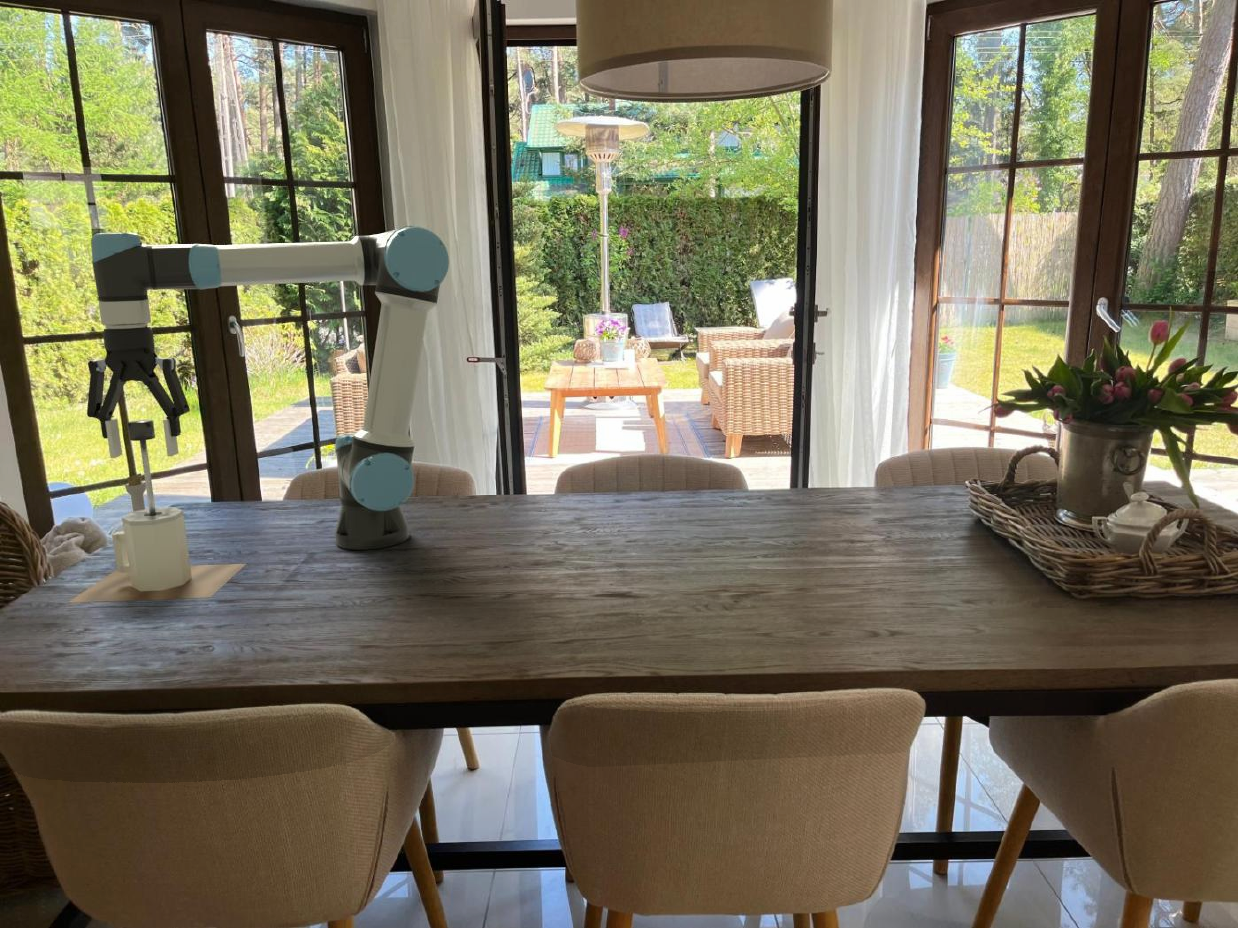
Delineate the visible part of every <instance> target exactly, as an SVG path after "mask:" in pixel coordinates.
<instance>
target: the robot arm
mask: <svg viewBox="0 0 1238 928" xmlns="http://www.w3.org/2000/svg"><path fill="white" fill-rule="evenodd" d="M90 246H91V247H90V248H91V259H92V260H91V263H92V268H93V269H92V270H93V275H94V281H95V288H96V294H97V299H98V309H99V314H100V316H99V317H100V324H101V325H102V326H105V328H103V330H102V336H103V343H104V349H105V351H106V355H105V358H104V359H103V358H102V359H98V358H97V359H92V360H89V361H88V362H87V367H88V370H89V375H90V377H89V384H88V385H89V386H88V387H89V388H88V398H87V408H86V409H87V410H86V415H87V417H89V418H94V419H98V421H99V422H100V429H101V434H102V435H101V437H102V439H105V440H106V439H107V443H108V444H107V445H108V449H109V450H108V451H109V457H110V458H111V459H117V458H119V457H121V456H123V449H122V441H121V436H120V427H119V422H118V421H119V420H118V418H114V417H115V416H114V412H115V410H116V407H117V404H118V402H119V399H120V397H121V394H122V391H123V389H124V386H125V385H126V384H127V382H130V381H134V382H142V383H143V385H145V386H146V387H147V389H148V390H149V392H150V393H151V395H152V396H153V398H154V399H155V401H156V402H157V403H158V405H159V406H160V409H161V410H162V411H163V412H164V414H165V416H166V417H165V418H164V419H162V423H163V432H164V438H165V445H166V446H165V447H166V454H167V457H173V456H176V455H178V454H179V448H178V447H179V446H178V445H179V444H178V438H177V437H178V436H180V435H181V433H182V429H181V422H180V417H181V416H182V415H185V414H187V413H189V412H190V411H191V409H190V406H189V403H188V400H187V398H186V394H185V392H184V390H183V387H182V385H181V382H180V379H179V376H178V373H177V370H176V369H177V368H176V366H177V363H176V359H175V358H174V357H173V356H171V357H168V358H167V357H158V355H157V354H156V351H155V341H154V332H153V331H154V330H153V328H152V327H151V326H149V324H151V322H152V318H151V312H150V311H151V309H150V305H149V297H148V291H151V290H152V291H158V290H207V289H217V288H219V287H232V286H233V287H234V286H253V285H254V286H256V285H257V286H258V285H279V284H280V285H281V284H282V285H283V284H300V283H301V284H302V283H303V284H304V283H305V284H306V283H327V282H328V283H329V282H331V283H333V282H352V281H354V282H355V283H357V284H358V285H359V286H375V291H374V294H375V296H376V297H377V299H378V300H379V302H380V304H381V307H380V313H379V318H378V319H379V320H378V326H377V333H376V337H375V338H376V340H375V346H374V347H375V348H374V353H373V359H372V364H371V365H372V366H371V372H370V379H369V385H368V392H367V399H366V406H365V413H364V419H363V426H362V428H361V429H359V430H358V431H356V432H355V433H350V434H349V433H348V434H341V435H338V436H337V437H336V439H335V448H334V452H335V454H336V463H337V464H336V465H337V475H338V487H339V497H340V499H339V500H340V510H339V514H338V519H337V523H336V527H335V531H334V541H335V545H336V546H338V547H339V548H343V549H345V550H356V551H357V550H361V551H365V550H377V549H382V548H388V547H392V546H396V545H399V544H401V543H403V542H405V541H407V540H408V539H410V532H409V531H410V530H409V527H410V526H409V524H408V522H407V519H406V517H405V515H404V513H403V510H402V508H401V505H402V504H404V503H405V502H406V501H407V500H408V499H409V498H410V496H411V494H412V492H413V489H414V485H415V474H414V470H413V468H412V463H413V457H414V449H415V442H414V440H412V438H411V437H410V435H409V431H410V430H409V429H410V425H411V419H412V412H413V405H414V398H415V391H416V386H417V379H418V373H419V368H420V363H421V362H420V361H421V355H422V348H423V342H424V336H425V329H426V323H427V317H428V313H429V312H430V311H431V309H433V308H435V307H436V306H437V305H438V300H439V299H438V298H439V292H440V286H441V284H442V283H443V282H444V280H445V278H446V277H447V274H448V271H449V266H450V259H449V257H450V256H449V252H448V249H447V247H446V245H445V243H444V242H443V241H442V239H441V238H440V237H439V236H438V235H437V234H435V232H433V231H431V230H429V229H427V228H424V227H421V226H414V225H405V226H402V227H400V228H397V229H392V230H389V231H386V232H385V231H384V232H382V233H378V234H372V235H355V236H354V237H353V238H352V239H351V240H349V241H326V242H325V241H324V242H323V241H322V242H294V243H293V242H289V243H288V242H287V243H285V242H284V243H259V244H257V243H256V244H227V245H225V244H224V245H222V244H221V245H220V244H219V245H217V244H216V245H213V244H201V243H193V244H192V243H191V244H189V243H188V244H155V245H153V244H143V242H142V240H141V236H140V234H138V233H135V232H134V233H133V232H100V233H95V234H94V235H93V236H92V237H91V238H90ZM157 366H158V367H159V369H160V370H161V371H162V374H163V378H164V380H165V383H166V386H167V388H168V391H169V394H170V395H169V394H168V392H167V391H166V390H165V388H164V386H163V385H162V383H161V382H160V378H159V376H158V375H157V374H156V372H155V369H156V368H157ZM107 367H108V369H110V371H111V372H112V374H111V378H110V380H109V386H108V389H107V392H106V395H105V397H104V385H105V375H106V374H105V371H106V370H107ZM170 396H171V397H170ZM103 397H104V400H103Z"/></svg>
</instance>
